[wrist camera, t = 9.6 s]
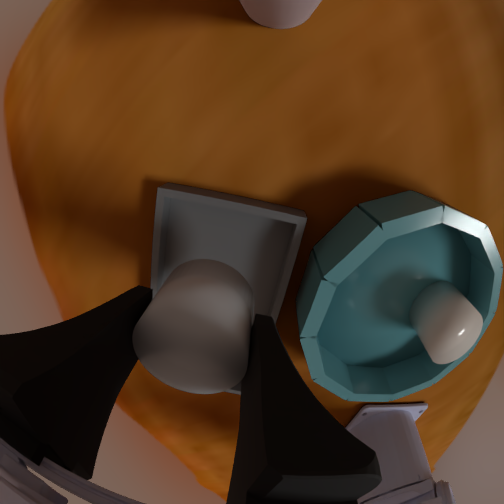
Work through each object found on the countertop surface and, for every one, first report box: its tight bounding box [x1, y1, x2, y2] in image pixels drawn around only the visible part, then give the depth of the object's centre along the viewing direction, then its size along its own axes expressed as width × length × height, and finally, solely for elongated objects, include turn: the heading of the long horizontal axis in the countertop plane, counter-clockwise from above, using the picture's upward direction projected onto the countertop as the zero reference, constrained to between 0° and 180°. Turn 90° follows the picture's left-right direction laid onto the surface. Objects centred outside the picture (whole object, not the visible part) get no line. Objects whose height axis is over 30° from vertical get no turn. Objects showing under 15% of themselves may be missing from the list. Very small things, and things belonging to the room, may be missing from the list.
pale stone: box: [409, 281, 483, 364], centre depth 14 cm, size 4×4×4 cm
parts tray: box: [151, 183, 307, 395], centre depth 16 cm, size 13×7×2 cm, turn 168°
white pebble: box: [132, 259, 255, 394], centre depth 10 cm, size 4×4×4 cm
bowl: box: [295, 191, 503, 402], centre depth 14 cm, size 13×13×4 cm
